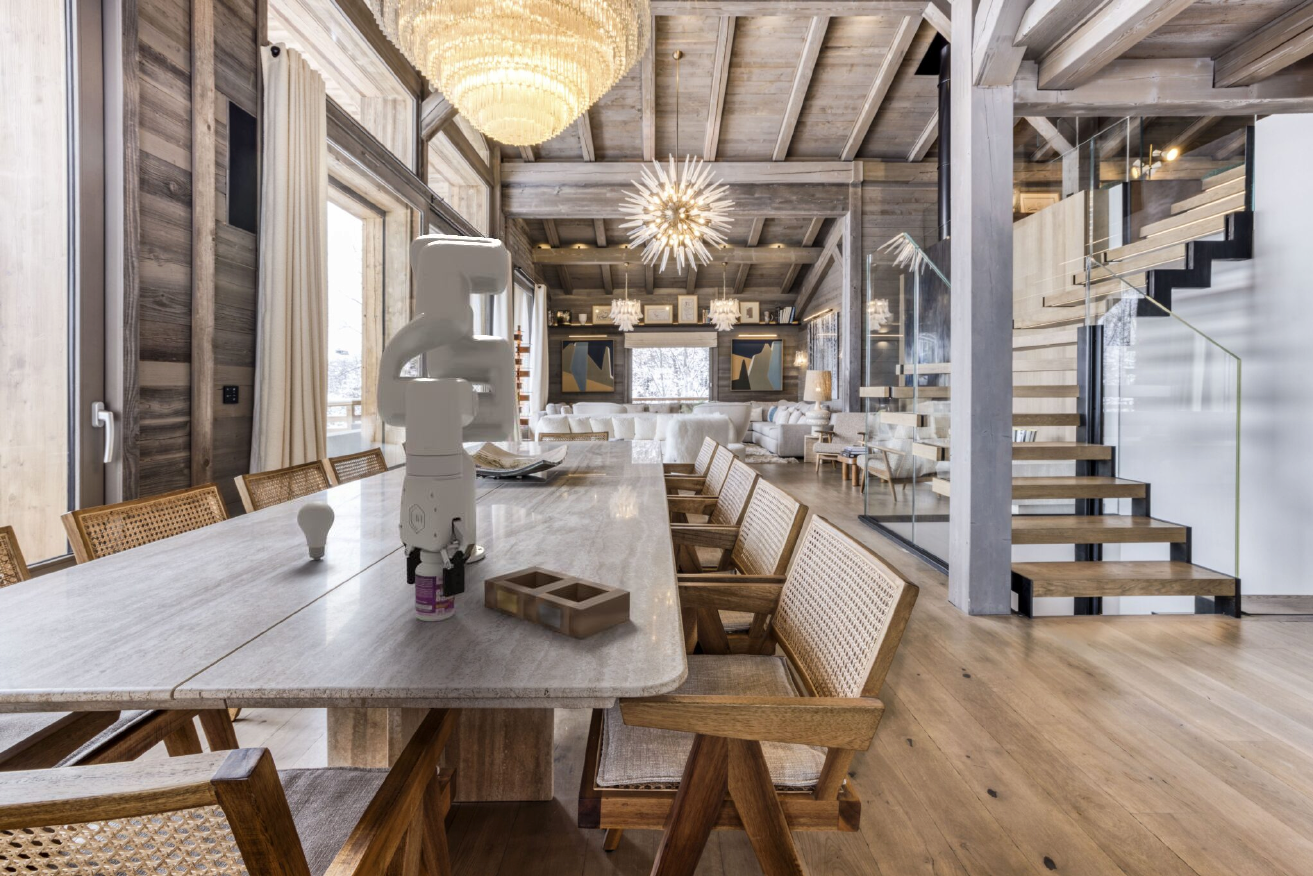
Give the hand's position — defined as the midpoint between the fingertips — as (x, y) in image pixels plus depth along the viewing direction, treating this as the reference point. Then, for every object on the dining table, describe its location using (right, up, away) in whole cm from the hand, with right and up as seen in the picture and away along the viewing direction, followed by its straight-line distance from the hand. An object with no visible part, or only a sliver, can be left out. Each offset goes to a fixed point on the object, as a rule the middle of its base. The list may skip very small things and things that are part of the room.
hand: (435, 587), depth 92 cm
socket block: (+17, -4, +3) cm, 17 cm away
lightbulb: (-32, -2, +28) cm, 42 cm away
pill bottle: (0, -4, 0) cm, 4 cm away
